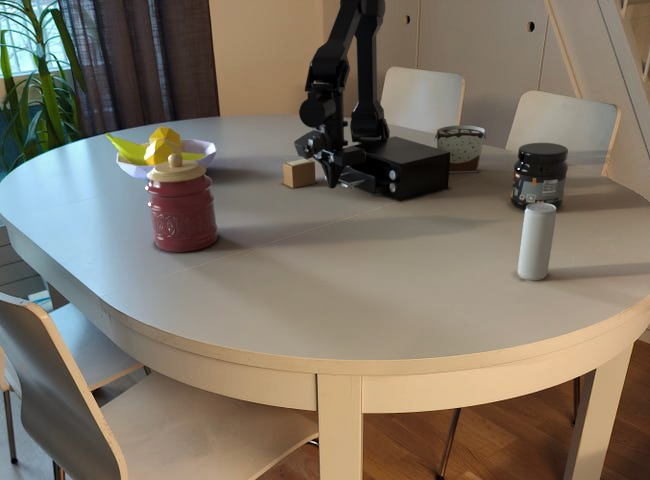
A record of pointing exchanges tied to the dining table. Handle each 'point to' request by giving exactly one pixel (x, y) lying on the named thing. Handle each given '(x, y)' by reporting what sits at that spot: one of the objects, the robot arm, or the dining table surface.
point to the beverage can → (536, 241)
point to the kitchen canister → (181, 205)
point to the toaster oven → (408, 166)
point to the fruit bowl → (160, 151)
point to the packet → (299, 173)
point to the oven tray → (366, 179)
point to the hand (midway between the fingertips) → (332, 188)
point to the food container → (461, 146)
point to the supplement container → (539, 175)
